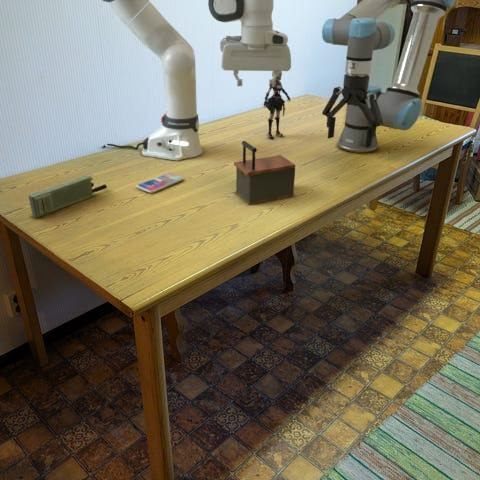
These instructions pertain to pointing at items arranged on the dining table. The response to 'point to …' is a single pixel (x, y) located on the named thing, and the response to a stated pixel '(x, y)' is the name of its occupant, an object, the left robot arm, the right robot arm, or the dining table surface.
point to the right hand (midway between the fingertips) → (348, 142)
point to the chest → (265, 185)
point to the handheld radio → (62, 195)
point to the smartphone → (159, 182)
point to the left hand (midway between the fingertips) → (255, 86)
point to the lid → (261, 162)
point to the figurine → (275, 104)
